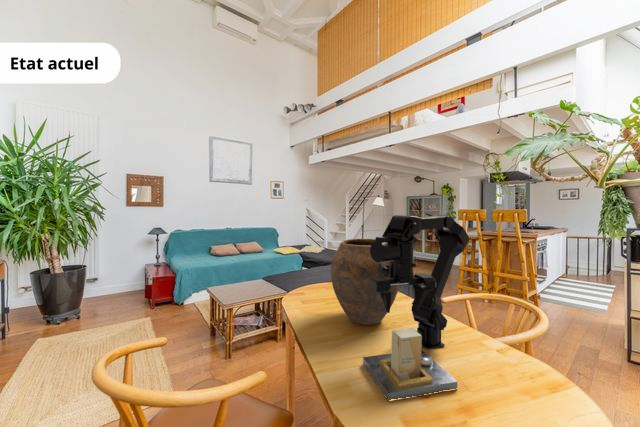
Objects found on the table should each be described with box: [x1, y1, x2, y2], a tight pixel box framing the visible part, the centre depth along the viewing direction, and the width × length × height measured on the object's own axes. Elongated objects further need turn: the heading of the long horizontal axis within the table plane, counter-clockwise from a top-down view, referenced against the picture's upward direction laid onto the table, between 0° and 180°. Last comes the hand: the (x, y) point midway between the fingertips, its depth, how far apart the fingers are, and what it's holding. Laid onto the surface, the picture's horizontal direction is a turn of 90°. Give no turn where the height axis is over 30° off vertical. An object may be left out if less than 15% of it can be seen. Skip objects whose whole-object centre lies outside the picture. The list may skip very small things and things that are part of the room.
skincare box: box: [390, 327, 422, 381], centre depth 70 cm, size 6×4×12 cm
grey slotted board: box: [362, 349, 458, 400], centre depth 72 cm, size 18×15×3 cm
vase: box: [330, 238, 400, 326], centre depth 106 cm, size 26×26×30 cm
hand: (402, 311), depth 81 cm, fingers open, 9 cm apart
